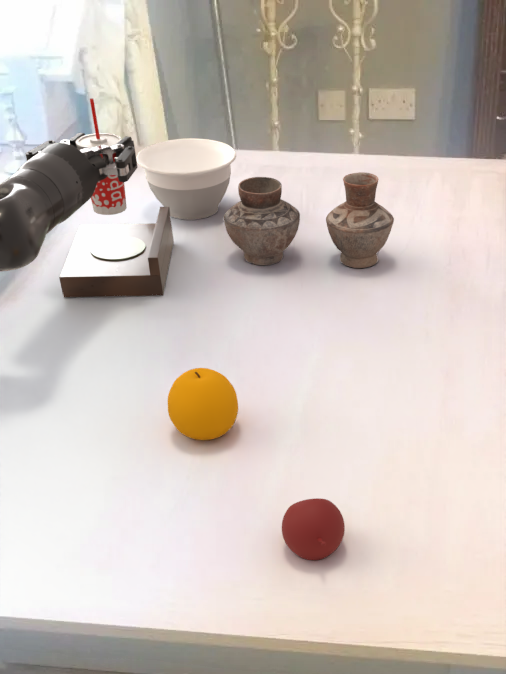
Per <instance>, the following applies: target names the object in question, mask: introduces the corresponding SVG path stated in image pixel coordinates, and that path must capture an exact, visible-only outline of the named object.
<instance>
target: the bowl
mask: <svg viewBox="0 0 506 674" xmlns="http://www.w3.org/2000/svg"><path fill="white" fill-rule="evenodd" d="M236 159H237V152H236V150H235V148H233V147H232V146H231V145H229V144H227V143H225V142H222V141H219V140H215V139H208V138H194V137H190V138H187V137H186V138H174V139H168V140H163V141H159V142H156V143H153V144H150V145H147V146H146V147H144V148H142V149H141V150H140V151H139V152H137V153H136V160H137V166H139V167H140V168H141V169H143V171H144V176H145V179H146V182H147V184H148V187H149V189H150V191H151V192H152V194H153V195H154V197H155V199H157V201H158V202H159V203H160V204H161V205H162V207H169V209H170V217H171V218H174V219H177V220H178V219H179V220H186V221H187V220H188V221H190V220H191V221H192V220H193V221H195V220H201V219H206V218H209V217H211V216H214V215H215V214H217V212H218V211H219V206H220V204H221V202H222V200H223V199H224V197H225V195H226V192H227V191H228V187H229V185H230V181H231V175H232V170H231V169H232V168H231V167H232V165H231V164H232V163H234V162H235V161H236Z"/></svg>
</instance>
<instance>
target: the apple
mask: <svg viewBox="0 0 506 674" xmlns="http://www.w3.org/2000/svg"><path fill="white" fill-rule="evenodd" d="M167 413H168V417H169V419H170V421H171V423H172V424H173V426H174V427H175V429H176V430H177V431H178V432H179V434H182V435H183V436H185V437H186V438H189V439H191V440H192V439H193V440H195V441H209V440H214V439H218V438H220V437H222V436H223V435H225V434H226V433H228V432H229V431H230V430H231V429H232V428H233V426H234V425H235V423H236V420H237V417H238V414H239V401H238V396H237V391H236V389H235V387H234V385H233V384H232V383H231V382H230V380H229V379H228V378H227V377H226V376H225V375H224V374H223V373H221V372H219V371H217V370H215V369H211V368H207V367H196V368H191V369H189V370H186V371H184V372H182V373H181V375H179V376H178V377H176V378H175V380H174V381H173V383H172V385H171V387H170V389H169V390H168V395H167Z"/></svg>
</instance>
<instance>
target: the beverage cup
mask: <svg viewBox="0 0 506 674" xmlns="http://www.w3.org/2000/svg"><path fill="white" fill-rule="evenodd" d="M89 103H90V109H91V114H92V115H91V116H92V120H93V121H92V122H93V127H94V132H95V133H90V134H88V133H87V134H85V135H84V136H82V137H79V138H78V139H77V140H76V141H75V143H76V146H77V149H79V150H82V149H85V148H87V149H91V148H94V147H97V146H100V145H106V146H109V147H110V146H113V145H116V144H117V143H118V142H119V141H120V140H122V139H123V138H122V137H121V136H120V135H117V134H114V133H110V132H100V130H99V123H98V119H97V118H98V117H97V113H96V106H95V100H94V98H93V97H90V98H89ZM100 156H101V157H102V153H101V154H100ZM115 157H116V153H113V162H115V159H114V158H115ZM102 158H103V157H102ZM126 197H127V196H126V186H125V182H119V179H118V177H117V175H110V176H107V177H106V178H105V179H104V180H101V181H98V182H97V185H96V188H95V191H94V193H93V195H92V197H91V198H90V201H91V205H92V209H93V210H92V211H93V212H94V213H96V214H98V215H103V216H112V215H117V214H122V213H123V212H125V211H126V210H127V198H126Z"/></svg>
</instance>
